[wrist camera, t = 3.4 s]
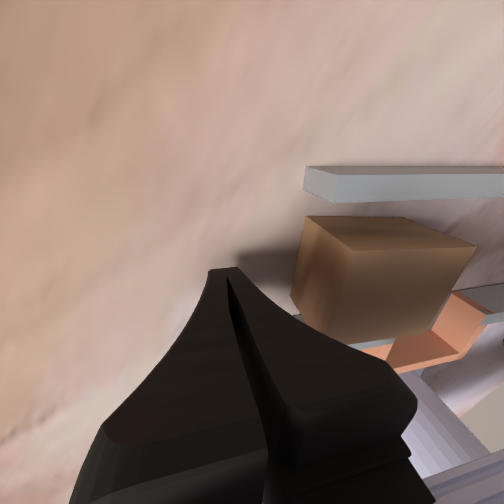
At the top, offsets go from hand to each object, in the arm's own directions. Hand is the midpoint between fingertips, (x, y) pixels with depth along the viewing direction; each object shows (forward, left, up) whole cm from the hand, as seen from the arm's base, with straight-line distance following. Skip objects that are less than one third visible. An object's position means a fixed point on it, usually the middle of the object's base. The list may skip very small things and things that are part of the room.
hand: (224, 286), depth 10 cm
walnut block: (0, -7, -2) cm, 7 cm away
